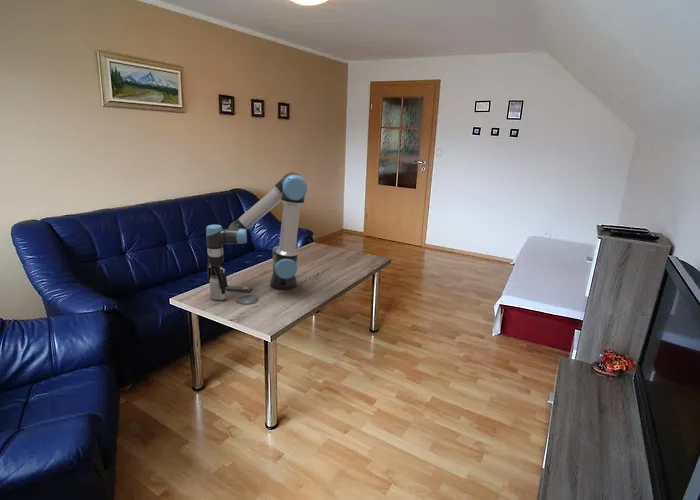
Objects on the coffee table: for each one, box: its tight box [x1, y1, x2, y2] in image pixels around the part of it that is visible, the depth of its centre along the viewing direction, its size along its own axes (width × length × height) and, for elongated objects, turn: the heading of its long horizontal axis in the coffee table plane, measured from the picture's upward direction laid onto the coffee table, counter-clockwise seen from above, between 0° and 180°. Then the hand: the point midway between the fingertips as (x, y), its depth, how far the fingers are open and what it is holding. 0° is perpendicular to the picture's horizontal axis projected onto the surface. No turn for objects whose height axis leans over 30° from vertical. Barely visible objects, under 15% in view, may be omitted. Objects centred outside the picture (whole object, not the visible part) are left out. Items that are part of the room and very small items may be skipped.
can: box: [209, 275, 227, 301], centre depth 208 cm, size 8×8×12 cm
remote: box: [225, 285, 253, 294], centre depth 220 cm, size 14×4×2 cm, turn 83°
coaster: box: [236, 294, 259, 306], centre depth 208 cm, size 11×11×1 cm
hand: (218, 296), depth 210 cm, fingers closed on can, 7 cm apart
